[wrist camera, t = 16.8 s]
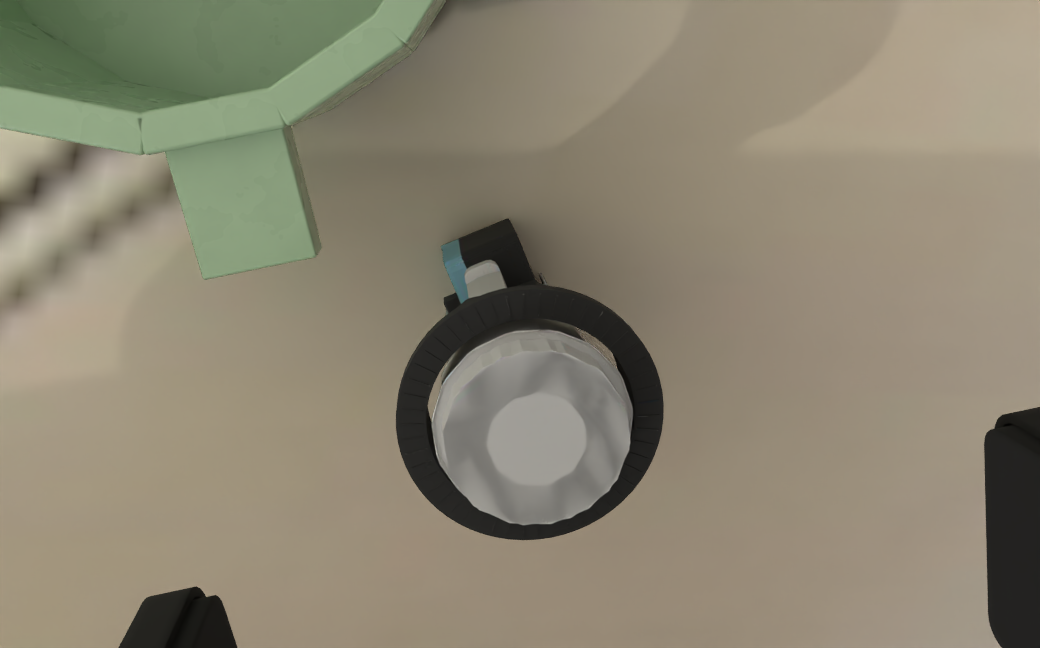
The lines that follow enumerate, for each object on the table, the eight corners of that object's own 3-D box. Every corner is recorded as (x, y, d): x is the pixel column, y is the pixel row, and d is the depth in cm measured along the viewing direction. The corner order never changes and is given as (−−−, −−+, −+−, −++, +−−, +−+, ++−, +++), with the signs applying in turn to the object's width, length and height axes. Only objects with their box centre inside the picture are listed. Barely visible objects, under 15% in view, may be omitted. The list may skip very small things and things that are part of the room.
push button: (627, 386, 27) (733, 559, 18) (467, 451, 27) (486, 658, 18) (550, 186, 25) (621, 257, 16) (379, 256, 25) (346, 370, 16)
